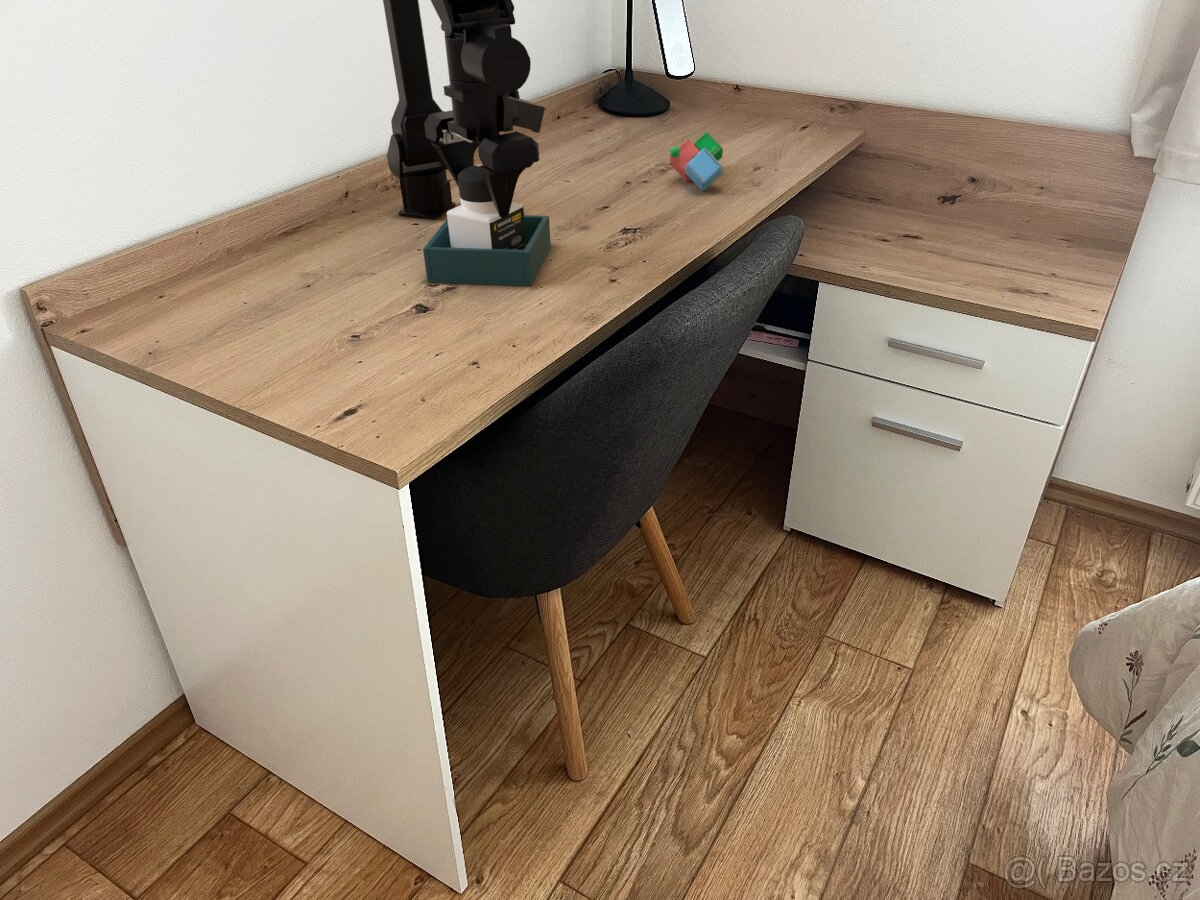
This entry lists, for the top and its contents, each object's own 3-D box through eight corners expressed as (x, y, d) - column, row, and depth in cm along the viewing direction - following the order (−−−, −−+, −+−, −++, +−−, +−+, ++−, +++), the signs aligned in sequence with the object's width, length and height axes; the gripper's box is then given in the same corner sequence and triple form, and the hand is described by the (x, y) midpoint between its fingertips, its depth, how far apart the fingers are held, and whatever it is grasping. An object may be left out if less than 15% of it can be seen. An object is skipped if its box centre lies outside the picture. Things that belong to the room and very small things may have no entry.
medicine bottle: (495, 275, 119) (486, 181, 112) (451, 264, 122) (440, 172, 115) (528, 256, 124) (521, 165, 117) (485, 246, 127) (476, 157, 120)
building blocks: (703, 206, 153) (702, 183, 141) (669, 171, 154) (666, 145, 142) (739, 173, 153) (741, 147, 141) (705, 138, 154) (705, 109, 142)
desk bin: (427, 282, 119) (422, 248, 116) (455, 244, 129) (451, 213, 127) (531, 286, 117) (528, 251, 114) (550, 247, 127) (549, 215, 125)
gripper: (574, 80, 107) (579, 213, 116) (494, 55, 120) (505, 177, 129) (489, 95, 102) (501, 233, 111) (415, 68, 115) (431, 193, 124)
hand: (486, 207), depth 119 cm, fingers open, 9 cm apart
